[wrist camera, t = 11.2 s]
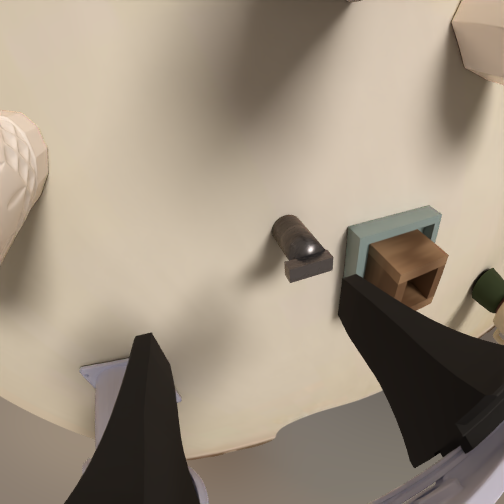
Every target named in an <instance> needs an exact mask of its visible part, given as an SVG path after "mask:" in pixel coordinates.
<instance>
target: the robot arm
mask: <svg viewBox="0 0 504 504" xmlns="http://www.w3.org/2000/svg"><path fill="white" fill-rule="evenodd" d="M338 315H339V318H340V320H341V322H342V324H343V326H344V328H345V330H346V332H347V334H348V336H349V337H350V339H351V340H352V342H353V343H354V345H355V346H356V348H357V349H358V351H359V353H360V354H361V355H362V357H363V358H364V360H365V362H366V363H367V365H368V366H369V368H370V369H371V371H372V372H373V374H374V375H375V377H376V378H377V380H378V382H379V384H380V385H381V387H382V389H383V391H384V393H385V395H386V397H387V400H388V402H389V404H390V406H391V408H392V411H393V413H394V415H395V418H396V420H397V423H398V425H399V428H400V431H401V433H402V436H403V439H404V442H405V445H406V448H407V452H408V455H409V459H410V462H411V464H412V465H413V467H414V468H416V467H418V466H419V465H421V464H423V463H425V462H426V461H428V460H429V459H431V458H433V457H434V456H436V455H437V454H439V453H441V455H442V456H443V458H442V459H441V460H439V461H438V462H436V463H435V464H433V465H432V466H430V467H429V468H428V469H426V470H425V471H423V472H422V473H420V474H418V475H417V476H416V477H414V478H412V479H411V480H409V481H407V482H406V483H404V484H402V485H401V486H399V487H397V488H396V489H394V490H392V491H390V492H388V493H387V494H385V495H383V496H381V497H379V498H377V499H376V500H373V501H371V502H370V503H367V504H401V503H403V502H405V501H406V500H408V499H410V498H411V497H413V496H414V497H413V498H412V499H410V500H409V501H408V502H406V503H405V504H495V502H496V501H497V500H498V498H499V497H500V496H501V495H502V493H503V492H504V345H501V344H496V343H492V342H488V341H484V340H481V339H478V338H475V337H472V336H469V335H466V334H463V333H461V332H458V331H456V330H453V329H451V328H448V327H446V326H444V325H442V324H440V323H438V322H436V321H434V320H432V319H430V318H428V317H426V316H424V315H422V314H420V313H419V312H417V311H415V310H413V309H412V308H410V307H408V306H406V305H405V304H403V303H401V302H400V301H398V300H397V299H395V298H393V297H392V296H390V295H389V294H387V293H386V292H384V291H382V290H381V289H379V288H378V287H376V286H375V285H373V284H372V283H370V282H368V281H367V280H365V279H364V278H362V277H361V276H359V275H357V274H354V275H351V276H348V277H345V278H343V279H342V287H341V295H340V303H339V310H338ZM79 372H80V373H81V374H82V375H83V376H84V377H85V379H86V380H87V381H88V382H89V383H90V384H91V385H92V386H93V387H94V388H95V441H96V451H95V453H94V455H93V457H92V459H90V458H89V459H88V460H87V461H86V462H85V463H83V475H82V477H81V479H80V480H79V482H78V484H77V486H76V487H75V489H74V490H73V492H72V493H71V494H70V496H69V497H68V499H67V500H66V502H65V503H64V504H209V501H208V495H207V491H206V488H205V485H204V483H203V481H202V479H201V477H200V476H199V475H198V474H197V473H196V472H195V471H194V470H193V469H192V468H191V467H189V466H188V465H187V462H186V458H185V454H184V451H183V446H182V441H181V434H180V426H179V418H178V409H177V403H178V402H181V401H182V399H181V396H180V395H179V394H178V392H177V391H176V389H175V386H174V381H173V376H172V371H171V367H170V363H169V362H168V360H167V358H166V357H165V355H164V353H163V352H162V350H161V348H160V346H159V345H158V343H157V341H156V339H155V338H154V336H153V334H152V333H147V334H143V335H139V336H136V337H135V339H134V342H133V346H132V350H131V353H130V357H129V358H127V359H122V360H116V361H111V362H106V363H101V364H95V365H89V366H84V367H80V370H79ZM435 481H436V484H435V485H434V486H432V487H430V488H428V489H426V490H424V489H425V488H427V487H428V486H429V485H431V484H433V483H434V482H435ZM422 490H424V491H422ZM421 491H422V492H421ZM419 492H421V493H419ZM418 493H419V494H418ZM416 494H417V495H416ZM415 495H416V496H415Z"/></svg>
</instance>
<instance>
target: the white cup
mask: <svg viewBox="0 0 504 504" xmlns="http://www.w3.org/2000/svg"><path fill="white" fill-rule="evenodd" d="M47 175H48V148H47V146H46V144H45V141H44V139H43V137H42V134H41V132H40V130H39V127H38V126H37V125H36V124H35V123H34V122H32V121H31V120H30V119H29V118H28V117H27V116H25V115H24V114H23V113H20V112H13V111H5V110H2V111H0V265H1V263H2V262H3V260H4V258H5V256H6V254H7V252H8V250H9V249H10V247H11V245H12V243H13V241H14V240H15V237H16V235H17V233H18V232H19V230H20V229H21V227H22V225H23V224H24V222H25V220H26V218H27V216H28V214H29V211H30V209H31V208H32V207H33V205H34V204H35V202H36V201H37V199H38V198H39V197H40V195H41V193H42V190H43V187H44V184H45V181H46V178H47Z"/></svg>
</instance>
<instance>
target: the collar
mask: <svg viewBox="0 0 504 504" xmlns="http://www.w3.org/2000/svg"><path fill="white" fill-rule="evenodd" d="M447 258H448V254H447V253H445V252H444V251H443V250H442V249H441V248H440V247H439V246H437V245H436V244H435V243H434V242H433V241H431V240H430V239H429V238H428V237H427V236H425V235H424V234H423V233H422V232H421V231H419V230H418V229H416V230H413V231H410V232H407V233H403V234H400V235H397V236H394V237H391V238H387V239H384V240H381V241H378V242H374V243H371V244H370V245H369V251H368V258H367V264H366V270H365V275H364V279H365V280H367V281H368V282H370V283H372V284H373V285H375V286H376V287H378V288H379V289H381V290H382V291H384V292H386V293H387V294H389V295H390V296H392V297H393V298H395V299H397V300H398V301H400V302H401V303H403V304H405V305H406V306H408V307H410V308H412V309H413V310H415V311H416V310H418V309H420V308H422V307H424V306H426V305H428V304H430V303H431V302H432V299H433V297H434V294H435V292H436V289H437V286H438V284H439V281H440V278H441V276H442V273H443V270H444V267H445V264H446V261H447Z"/></svg>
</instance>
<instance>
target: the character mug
mask: <svg viewBox="0 0 504 504" xmlns="http://www.w3.org/2000/svg"><path fill="white" fill-rule="evenodd" d="M472 298H473V299H474V300H476V301H477V302H478V303H479V304H480V305H482V306H483V307H484V308H486V309H487V310H488V311H489V312H492V313H496V315H495V317H494V320H493V322H494V325H495V326H496V327H497V329H496V331H495V332H494V334H493V337H494V339H495V340H496V341H497V342H498V343H499V344H501V345H504V340H502V339H501V337H500V336H499V334H500V332H501V333H502V334H503V336H504V280H503V279H502V277H501V276H500V275H499V274H498V273H497V272H496V271H495V269H494V268H491V269H489V270H488V271H487V272H486V273H484V274H483V275H482V276H481V278H480V279H479V280H478V281H477V283H476V285H475V286H474V288H473V292H472Z"/></svg>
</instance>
